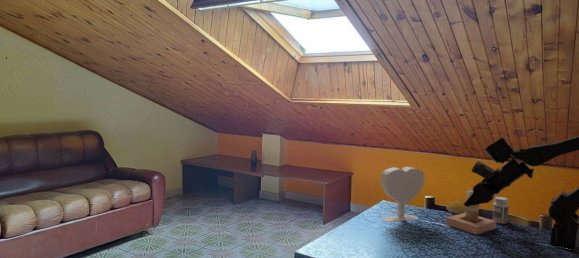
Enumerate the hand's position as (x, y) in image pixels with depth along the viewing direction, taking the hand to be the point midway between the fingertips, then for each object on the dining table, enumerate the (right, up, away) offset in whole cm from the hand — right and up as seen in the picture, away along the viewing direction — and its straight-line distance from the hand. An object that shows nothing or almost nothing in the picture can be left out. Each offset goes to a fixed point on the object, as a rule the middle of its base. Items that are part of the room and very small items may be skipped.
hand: (468, 202), depth 140 cm
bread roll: (+4, -7, +18) cm, 19 cm away
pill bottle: (+14, -8, +6) cm, 17 cm away
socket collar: (+1, -8, 0) cm, 8 cm away
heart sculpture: (-21, -7, +7) cm, 23 cm away
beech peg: (+1, -8, 0) cm, 8 cm away
